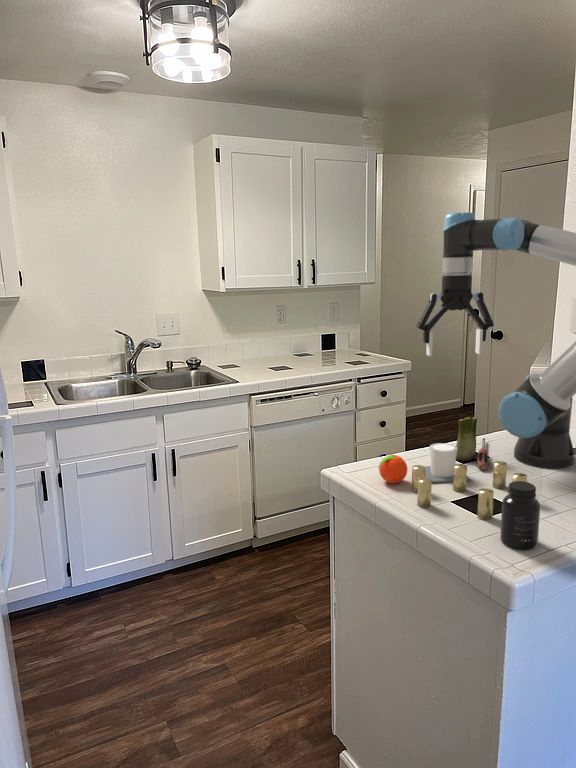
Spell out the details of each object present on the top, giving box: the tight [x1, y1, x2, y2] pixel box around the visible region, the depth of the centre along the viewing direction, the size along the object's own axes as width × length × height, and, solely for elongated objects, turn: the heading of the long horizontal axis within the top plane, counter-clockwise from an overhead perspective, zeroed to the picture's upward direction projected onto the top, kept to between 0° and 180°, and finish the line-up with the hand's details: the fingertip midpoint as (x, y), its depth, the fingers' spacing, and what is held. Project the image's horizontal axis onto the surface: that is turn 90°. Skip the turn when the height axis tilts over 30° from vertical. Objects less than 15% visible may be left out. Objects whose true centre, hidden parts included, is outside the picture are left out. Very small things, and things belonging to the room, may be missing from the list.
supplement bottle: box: [500, 481, 541, 551], centre depth 112 cm, size 7×7×12 cm
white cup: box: [429, 442, 457, 477], centre depth 147 cm, size 7×7×7 cm
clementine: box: [377, 454, 408, 484], centre depth 143 cm, size 8×7×7 cm
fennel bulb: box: [455, 417, 478, 462], centre depth 157 cm, size 6×5×12 cm
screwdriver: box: [476, 437, 489, 471], centre depth 161 cm, size 25×3×3 cm, turn 161°
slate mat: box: [424, 465, 471, 485], centre depth 148 cm, size 11×10×1 cm
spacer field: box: [411, 460, 528, 521], centre depth 131 cm, size 25×18×6 cm
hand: (453, 354), depth 156 cm, fingers open, 13 cm apart
